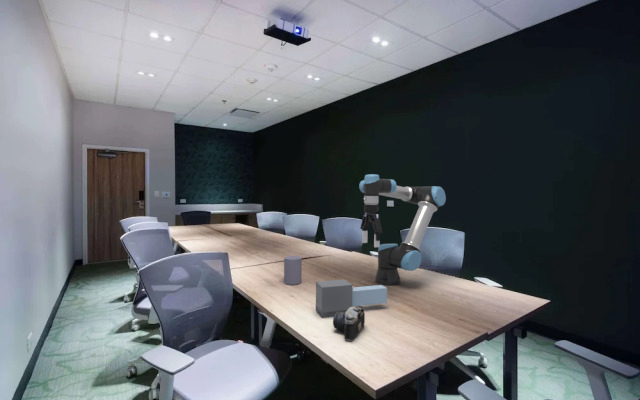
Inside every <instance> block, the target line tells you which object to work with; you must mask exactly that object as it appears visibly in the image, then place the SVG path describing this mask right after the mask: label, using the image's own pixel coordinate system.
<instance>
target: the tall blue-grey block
mask: <svg viewBox="0 0 640 400" xmlns="http://www.w3.org/2000/svg"><path fill="white" fill-rule="evenodd" d="M387 303H388V288H387V287H386V285H383V284H378V285H366V286H356V287H355V286H353V291H352V307H353V308H355V306H362V307H364V306H371V305H381V304H387Z"/></svg>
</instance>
